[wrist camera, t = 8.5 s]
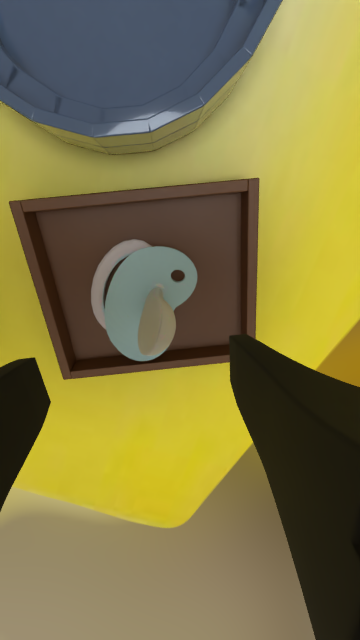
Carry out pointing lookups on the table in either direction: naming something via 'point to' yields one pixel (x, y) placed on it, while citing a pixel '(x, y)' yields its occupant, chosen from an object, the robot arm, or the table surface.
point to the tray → (113, 228)
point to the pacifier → (141, 296)
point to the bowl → (125, 65)
